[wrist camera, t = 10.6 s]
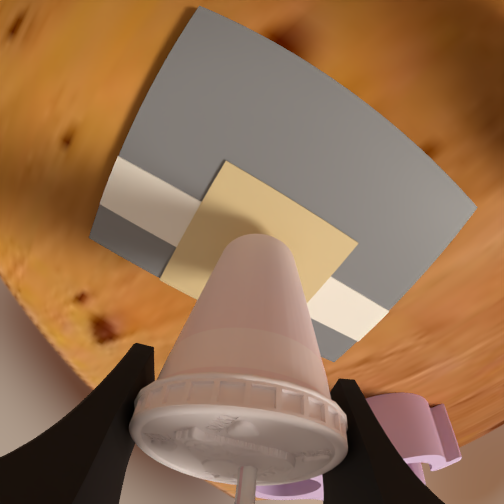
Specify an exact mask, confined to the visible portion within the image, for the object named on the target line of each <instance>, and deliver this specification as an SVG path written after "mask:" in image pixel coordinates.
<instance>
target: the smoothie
mask: <svg viewBox="0 0 504 504" xmlns="http://www.w3.org/2000/svg"><path fill="white" fill-rule="evenodd" d="M134 408H135V410H134V413H133V416H132V418H131V421H130V424H129V432H130V435H131V437H132V439H133V440H134V442H135V443H136V444H137V446H138V447H139V448H140V449H141V450H143V451H144V452H145V453H146V454H147V455H149V456H150V457H152V458H153V459H155V460H156V461H158V462H160V463H162V464H164V465H166V466H168V467H170V468H172V469H175V470H177V471H179V472H182V473H185V474H188V475H191V476H194V477H197V478H201V479H205V480H210V481H214V482H220V483H227V484H235V485H237V487H236V495H235V504H255V493H256V486H267V485H281V484H288V483H295V482H299V481H303V480H308V479H311V478H314V477H317V476H320V475H322V474H324V473H326V472H328V471H330V470H332V469H333V468H334V467H336V466H337V465H338V464H340V463H341V462H342V461H343V459H344V458H345V457H346V455H347V452H348V443H347V434H346V431H347V429H348V425H347V416H346V414H345V413H344V412H343V410H342V409H341V408H340V407H339V405H338V404H337V403H336V402H335V401H333V400H331V395H330V391H329V386H328V382H327V377H326V373H325V369H324V367H323V363H322V359H321V355H320V351H319V347H318V344H317V340H316V336H315V332H314V328H313V325H312V321H311V317H310V314H309V310H308V306H307V303H306V299H305V295H304V292H303V288H302V285H301V281H300V277H299V274H298V270H297V267H296V263H295V260H294V257H293V254H292V252H291V251H290V249H289V248H288V247H287V246H286V245H285V244H284V243H283V242H281V241H280V240H278V239H277V238H274V237H272V236H269V235H265V234H247V235H243V236H241V237H238V238H236V239H235V240H233V241H232V242H230V243H229V244H228V245H227V246H226V248H225V249H224V251H223V253H222V255H221V256H220V258H219V260H218V262H217V264H216V266H215V268H214V270H213V272H212V273H211V275H210V277H209V279H208V281H207V283H206V285H205V287H204V289H203V291H202V292H201V294H200V296H199V298H198V300H197V302H196V304H195V306H194V308H193V310H192V312H191V314H190V315H189V317H188V319H187V321H186V323H185V325H184V327H183V329H182V331H181V333H180V335H179V337H178V339H177V341H176V343H175V345H174V347H173V349H172V350H171V352H170V354H169V356H168V358H167V360H166V362H165V364H164V366H163V368H162V370H161V372H160V375H159V377H158V379H157V380H155V381H154V382H152V383H151V384H149V385H147V386H146V387H144V388H142V389H141V390H140V392H139V393H138V395H137V397H136V399H135V401H134Z"/></svg>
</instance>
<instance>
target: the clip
mask: <svg viewBox="0 0 504 504" xmlns="http://www.w3.org/2000/svg"><path fill="white" fill-rule="evenodd" d="M365 399H366V401H367V402H368V404H369V406H370V408H371V409H372V411H373V413H374V415H375V416H376V418H377V420H378V422H379V423H380V425H381V426H382V428H383V430H384V431H385V433H386V435H387V436H388V438H389V439H390V441H391V442H392V444H393V445H394V447H395V448H396V450H397V451H398V453H399V454H400V456H401V457H402V458H403V460H404V461H405V462H406V463H407V465H408V466H409V467H410V468H411V470H412V471H413V472H414V473H415V474H416V476H417V477H418V478H419V479H420V480H421V481H422V482H423V483H424V484H425V485H426V483H425V478H424V474H423V470H422V466H421V462H424V463H429V466H430V470H431V471H435V470H438V469H441V468H444V467H446V466H449V465H451V464H453V463H455V462H457V461H459V460H461V459H462V456H461V453H460V450H459V447H458V443H457V440H456V437H455V434H454V431H453V428H452V426H451V423H450V420H449V417H448V414H447V411H446V409H445V406H444V404H440V405H437V406H435V407H432V408H430V407H429V405H428V402H427V401H426V399H424V398H423V397H421V396H419V395H416V394H412V393H389V394H382V395H377V396H373V397H369V398H365ZM255 497H258V498H264V499H273V500H293V499H317V500H322V501H323V500H324V491H323V477H322V475H320V476H317V477H314V478H311V479H308V480H303V481H299V482H295V483H288V484H281V485H267V486H256V493H255Z"/></svg>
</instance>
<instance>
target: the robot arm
mask: <svg viewBox="0 0 504 504" xmlns="http://www.w3.org/2000/svg"><path fill="white" fill-rule="evenodd" d="M154 381H155V376H154V347H151V346H147V345H143V344H139V343H135V344H133V346H132V347H131V348H130V350H129V351H128V352H127V353H126V355H125V356H124V357H123V358H122V360H121V361H120V362H119V363H118V364H117V365H116V367H115V368H114V369H113V370H112V371H111V372H110V373H109V374H108V375H107V377H106V378H105V379H104V380H103V381H102V382H101V383H100V384H99V385H98V386H97V387H96V388H95V389H94V390H93V391H92V392H91V393H90V394H89V395H88V396H87V397H86V398H85V399H84V400H83V401H82V402H81V403H80V404H79V405H77V407H75V408H74V409H73V410H72V411H71V412H69V413H68V414H67V415H66V416H65V417H63V418H62V419H61V420H60V421H58V422H57V423H56V424H54V425H53V426H52V427H50V428H49V429H48V430H46V431H45V432H43V433H42V434H41V435H39V436H37V437H36V438H34V439H33V440H31V441H30V442H28V443H26V444H24V445H23V446H21V447H19V448H17V449H16V450H14V451H12V452H10V453H8V454H6V455H4V456H2V457H0V504H119V499H120V495H121V490H122V485H123V481H124V476H125V472H126V468H127V465H128V461H129V458H130V456H131V453H132V450H133V447H134V445H135V442H134V440H133V439H132V437H131V435H130V432H129V424H130V421H131V418H132V416H133V413H134V410H135V408H134V401H135V399H136V397H137V395H138V393H139V392H140V390H141V389H142V388H144V387H146V386H147V385H149V384H151V383H152V382H154ZM330 395H331V400H333V401H335V402H336V403H337V404H338V405H339V407H340V408H341V409H342V410H343V412H344V413H345V414H346V416H347V425H348V429H347V431H346V434H347V443H348V452H347V455H346V457H345V458H344V459H343V461H342V462H341V463H340V464H338V465H337V466H336V467H334V468H333V469H332V470H330V471H328V472H326V473H324V474H322V477H323V491H324V500H323V504H445V503H444V502H442V501H441V500H440V499H439V498H438V497H437V496H436V495H435V494H434V493H433V492H432V491H431V490H430V489H429V488H428V487H427V486H426V485H425V484H424V483H423V482H422V481H421V480H420V479H419V478H418V477H417V476H416V474H415V473H414V472H413V471H412V470H411V468H410V467H409V466H408V465H407V463H406V462H405V461H404V460H403V458H402V457H401V456H400V454H399V453H398V451H397V450H396V448H395V447H394V445H393V444H392V442H391V441H390V439H389V438H388V436H387V435H386V433H385V431H384V430H383V428H382V426H381V425H380V423H379V422H378V420H377V418H376V416H375V415H374V413H373V411H372V409H371V408H370V406H369V404H368V402H367V401H366V399H365V397H364V395H363V393H362V392H361V390H360V388H359V386H358V385H357V383H356V381H355V380H350V379H338V381H337V383H336V384H335V386H334V387H333V389H332V390H331V392H330Z"/></svg>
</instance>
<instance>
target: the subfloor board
mask: <svg viewBox="0 0 504 504" xmlns="http://www.w3.org/2000/svg"><path fill="white" fill-rule="evenodd" d="M476 209H477V206H476V205H475V204H474V203H473V202H472V201H471V200H470V198H469V197H468V196H467V195H466V194H465V193H464V192H463V191H462V190H461V189H460V188H459V186H458V185H457V184H456V183H455V182H454V181H453V180H452V179H451V178H450V177H449V176H448V175H447V174H446V173H445V172H444V171H443V170H442V169H441V168H440V167H439V166H438V165H437V164H436V163H435V162H434V161H433V160H432V159H431V158H430V157H429V156H428V155H427V154H426V153H424V152H423V151H422V150H421V149H420V148H419V147H418V146H417V145H416V144H415V143H414V142H412V141H411V140H410V139H409V138H408V137H407V136H406V135H405V134H403V133H402V132H401V131H400V130H399V129H398V128H396V127H395V126H394V125H393V124H392V123H390V122H389V121H388V120H387V119H386V118H384V117H383V116H382V115H381V114H379V113H378V112H377V111H376V110H374V109H373V108H372V107H371V106H369V105H368V104H367V103H365V102H364V101H363V100H361V99H360V98H359V97H358V96H356V95H355V94H353V93H352V92H351V91H349V90H348V89H347V88H345V87H344V86H342V85H341V84H340V83H338V82H337V81H335V80H334V79H332V78H331V77H329V76H328V75H326V74H325V73H323V72H322V71H320V70H319V69H317V68H316V67H314V66H313V65H311V64H310V63H308V62H306V61H305V60H303V59H302V58H300V57H298V56H297V55H295V54H293V53H292V52H290V51H288V50H287V49H285V48H283V47H282V46H280V45H278V44H276V43H275V42H273V41H271V40H269V39H267V38H266V37H264V36H262V35H260V34H258V33H256V32H254V31H252V30H250V29H248V28H247V27H245V26H243V25H241V24H239V23H236V22H234V21H232V20H230V19H228V18H226V17H224V16H222V15H220V14H217V13H215V12H213V11H211V10H208V9H206V8H204V7H201V6H199V7H198V9H197V10H196V12H195V13H194V15H193V16H192V18H191V19H190V21H189V22H188V24H187V25H186V27H185V29H184V30H183V32H182V33H181V35H180V37H179V38H178V40H177V41H176V43H175V45H174V46H173V48H172V50H171V51H170V53H169V55H168V57H167V58H166V60H165V62H164V64H163V65H162V67H161V69H160V71H159V73H158V74H157V76H156V78H155V80H154V82H153V84H152V86H151V88H150V90H149V91H148V93H147V95H146V97H145V99H144V101H143V103H142V105H141V107H140V109H139V111H138V114H137V116H136V118H135V120H134V122H133V124H132V126H131V128H130V131H129V133H128V135H127V137H126V140H125V142H124V144H123V146H122V149H121V151H120V154H119V156H118V157H117V159H116V162H115V164H114V167H113V169H112V172H111V174H110V177H109V179H108V182H107V185H106V187H105V190H104V193H103V195H102V198H101V201H100V205H99V208H98V211H97V214H96V217H95V220H94V223H93V226H92V229H91V232H90V236H89V238H90V239H92V240H93V241H95V242H97V243H99V244H100V245H102V246H104V247H105V248H107V249H109V250H111V251H112V252H114V253H116V254H117V255H119V256H121V257H123V258H125V259H126V260H128V261H130V262H132V263H133V264H135V265H137V266H139V267H141V268H142V269H144V270H146V271H148V272H150V273H151V274H153V275H155V276H157V277H159V278H160V280H161V281H162V282H164V283H166V284H168V285H170V286H172V287H174V288H176V289H177V290H179V291H181V292H183V293H185V294H187V295H189V296H191V297H193V298H195V299H197V300H198V298H199V296H200V294H201V292H202V291H203V289H204V287H205V285H206V283H207V281H208V279H209V277H210V275H211V273H212V272H213V270H214V268H215V266H216V264H217V262H218V260H219V258H220V256H221V255H222V253H223V251H224V249H225V248H226V246H227V245H228V244H229V243H230V242H232V241H233V240H235V239H236V238H238V237H241V236H243V235H247V234H265V235H269V236H272V237H274V238H277V239H278V240H280V241H281V242H283V243H284V244H285V245H286V246H287V247H288V248H289V249H290V251H291V252H292V254H293V257H294V260H295V263H296V267H297V270H298V274H299V277H300V281H301V285H302V288H303V292H304V295H305V299H306V303H307V306H308V310H309V314H310V317H311V321H312V325H313V328H314V332H315V336H316V340H317V344H318V347H319V351H320V355H321V357H323V358H325V359H328V360H330V361H332V362H335V361H336V360H337V359H338V358H339V357H341V356H342V355H343V354H344V353H345V352H346V351H347V350H348V349H349V348H351V347H352V346H353V345H354V344H355V343H356V342H357V341H359V340H361V339H362V338H363V337H364V336H365V335H366V334H367V333H368V332H369V331H370V330H371V329H372V328H373V327H374V326H375V325H376V324H377V323H378V322H379V321H380V320H381V319H382V318H383V317H384V316H385V315H386V314H387V313H388V312H389V310H390V309H391V308H392V307H393V306H394V305H395V304H396V303H397V302H398V301H399V300H400V299H401V298H402V297H403V295H404V294H405V293H406V292H407V291H408V290H409V289H410V288H411V287H412V286H413V285H414V284H415V283H416V281H417V280H418V279H419V278H420V277H421V276H422V275H423V274H424V273H425V271H426V270H427V269H428V268H429V267H430V266H431V265H432V263H433V262H434V261H435V260H436V259H437V258H438V257H439V255H440V254H441V253H442V252H443V251H444V249H445V248H446V247H447V246H448V245H449V243H450V242H451V241H452V240H453V238H454V237H455V236H456V235H457V233H458V232H459V231H460V230H461V228H462V227H463V226H464V225H465V223H466V222H467V221H468V219H469V218H470V217H471V215H472V214H473V213H474V211H475V210H476Z"/></svg>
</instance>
